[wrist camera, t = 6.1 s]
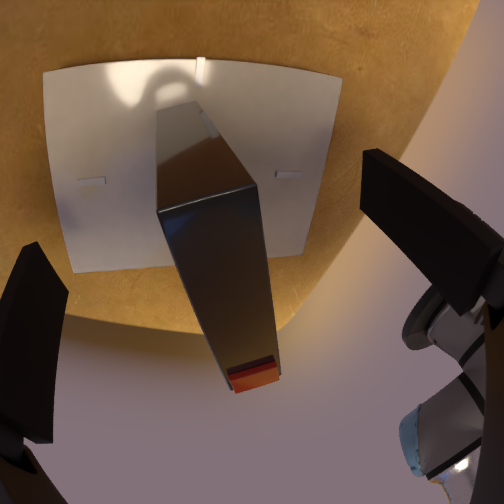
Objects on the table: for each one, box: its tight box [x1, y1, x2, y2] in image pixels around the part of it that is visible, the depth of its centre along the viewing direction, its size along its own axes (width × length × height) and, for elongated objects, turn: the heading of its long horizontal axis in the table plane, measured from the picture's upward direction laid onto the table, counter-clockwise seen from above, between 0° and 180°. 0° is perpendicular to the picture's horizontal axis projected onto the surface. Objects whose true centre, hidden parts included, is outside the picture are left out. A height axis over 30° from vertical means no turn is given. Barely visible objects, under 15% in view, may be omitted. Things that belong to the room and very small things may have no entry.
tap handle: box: [155, 101, 281, 393], centre depth 11 cm, size 7×2×9 cm, turn 7°
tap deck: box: [43, 57, 343, 273], centre depth 15 cm, size 14×11×3 cm
